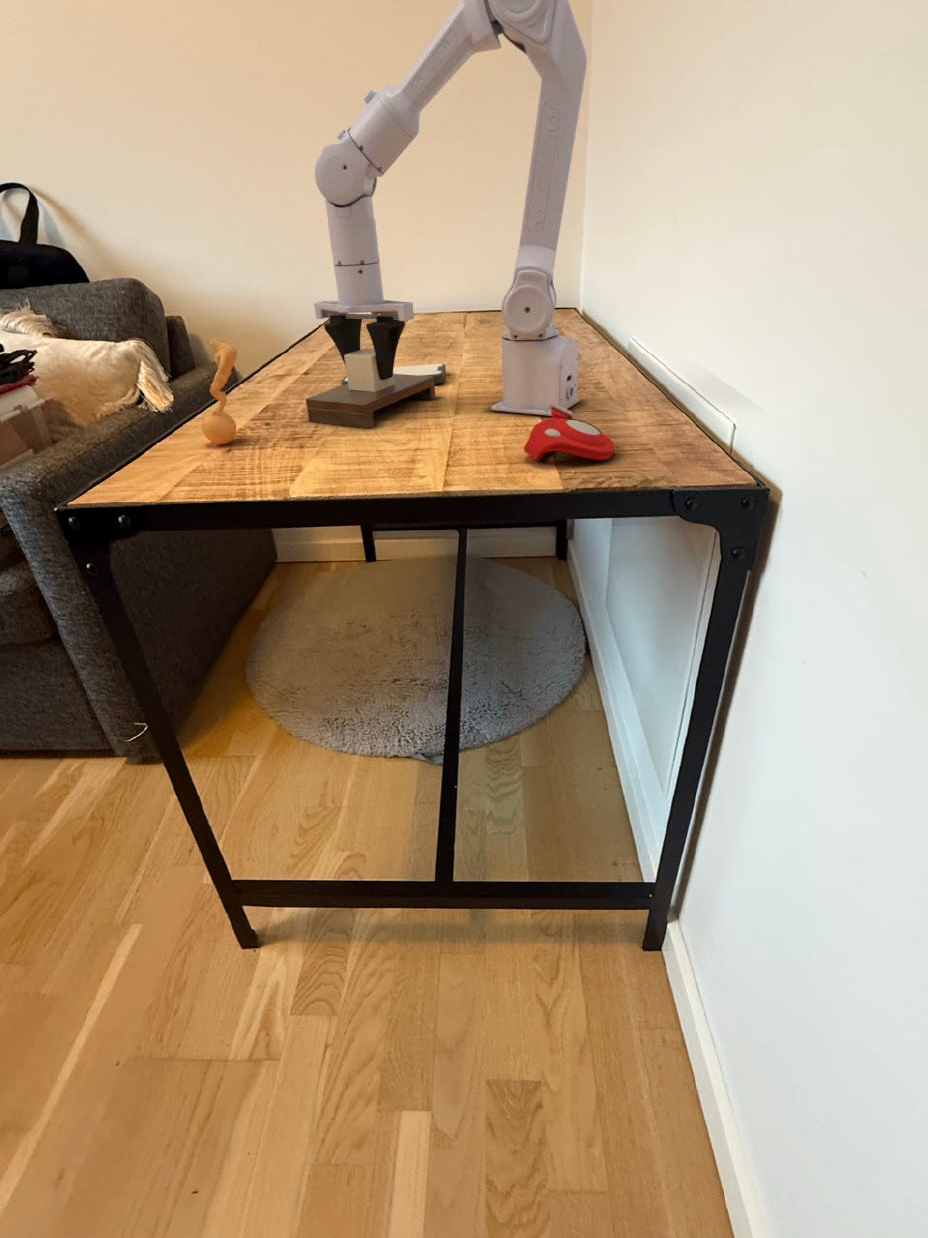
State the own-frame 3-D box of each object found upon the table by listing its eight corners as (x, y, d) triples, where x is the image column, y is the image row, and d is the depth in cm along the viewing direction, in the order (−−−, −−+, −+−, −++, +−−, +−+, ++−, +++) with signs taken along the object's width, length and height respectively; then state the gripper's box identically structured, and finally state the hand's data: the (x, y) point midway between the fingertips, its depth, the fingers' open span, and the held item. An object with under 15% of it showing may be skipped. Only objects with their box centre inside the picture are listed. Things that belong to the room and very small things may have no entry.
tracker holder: (637, 443, 70) (567, 440, 65) (620, 481, 73) (552, 481, 67) (568, 396, 78) (500, 389, 72) (554, 431, 80) (488, 428, 75)
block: (394, 384, 92) (391, 349, 90) (375, 392, 89) (371, 356, 86) (368, 382, 94) (364, 348, 92) (348, 389, 91) (343, 354, 88)
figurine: (213, 435, 86) (187, 335, 80) (260, 431, 87) (239, 331, 80) (199, 455, 79) (171, 347, 73) (251, 450, 80) (227, 343, 73)
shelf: (435, 397, 97) (434, 376, 95) (368, 428, 85) (365, 404, 83) (379, 393, 101) (377, 372, 99) (309, 421, 90) (305, 398, 88)
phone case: (341, 392, 104) (444, 384, 103) (340, 382, 103) (443, 374, 102) (350, 380, 111) (446, 372, 110) (349, 370, 110) (445, 362, 110)
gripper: (291, 267, 84) (310, 379, 91) (385, 266, 77) (397, 387, 85) (327, 262, 89) (343, 369, 96) (418, 260, 83) (427, 375, 90)
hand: (370, 376), depth 91 cm, fingers open, 5 cm apart
